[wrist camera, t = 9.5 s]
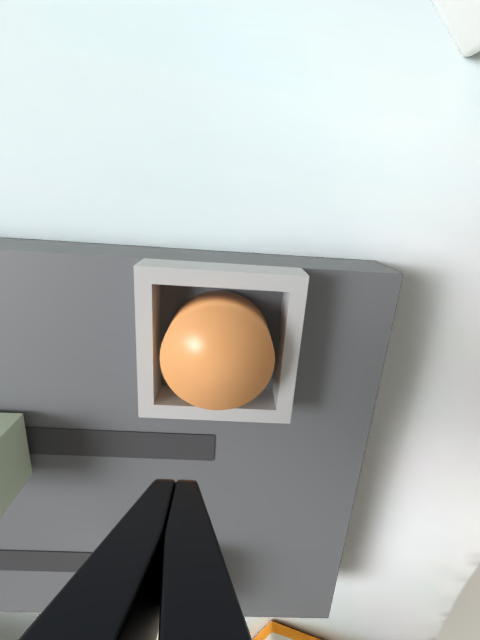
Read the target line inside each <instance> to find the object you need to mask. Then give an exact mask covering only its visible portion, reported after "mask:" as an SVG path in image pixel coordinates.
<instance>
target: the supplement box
mask: <svg viewBox="0 0 480 640" xmlns="http://www.w3.org/2000/svg"><path fill="white" fill-rule="evenodd" d="M253 640H320V639H318V638H315V637H313V636H310V635H307V634H305V633H302V632H299V631H297V630H294V629H291V628H289V627H287V626H284V625H281V624H279V623H276V622H273V621H270V622H269V623H268V625H266V626H265V627H264V629H263V630H261V631H260V633H258V635H257V636H256V637H255V638H254V639H253Z"/></svg>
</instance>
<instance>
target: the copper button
mask: <svg viewBox="0 0 480 640" xmlns="http://www.w3.org/2000/svg"><path fill="white" fill-rule="evenodd" d="M274 365H275V353H274V347H273V343H272V340H271V336H270V332H269V329H268V325H267V322H266V320H265V317H264V316H263V314H262V312H261V311H260V310H259V309H258V307H257V306H256V305H255V304H254V303H253V302H251V301H250V300H248V299H247V298H245V297H243V296H241V295H239V294H236V293H233V292H229V291H208V292H205V293H201V294H199V295H196V296H194V297H193V298H191V299H189V300H188V301H187V302H185V303H184V304H183V305H182V306H181V307H180V308H179V310H178V311H177V312H176V314H175V316H174V318H173V320H172V322H171V324H170V326H169V328H168V330H167V332H166V334H165V336H164V339H163V342H162V344H161V349H160V366H161V371H162V374H163V376H164V379H165V380H166V382H167V384H168V385H169V387H170V388H171V389H172V391H173V392H174V393H175V394H176V395H178V396H179V397H180V398H181V399H183V400H184V401H186V402H187V403H189V404H191V405H194V406H196V407H199V408H203V409H207V410H228V409H233V408H237V407H239V406H242V405H244V404H246V403H248V402H250V401H251V400H253V399H254V398H256V397H257V396H258V395H259V394H260V393H261V392H262V391H263V390H264V389H265V387H266V386H267V384H268V383H269V381H270V379H271V377H272V374H273V371H274Z"/></svg>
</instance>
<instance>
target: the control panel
mask: <svg viewBox="0 0 480 640" xmlns="http://www.w3.org/2000/svg"><path fill="white" fill-rule="evenodd" d="M402 278H403V274H402V273H400V272H398V271H396V270H393V269H391V268H389V267H387V266H385V265H383V264H380V263H378V262H376V261H371V260H355V259H339V258H323V257H307V256H291V255H275V254H259V253H243V252H227V251H211V250H195V249H178V248H162V247H146V246H130V245H114V244H98V243H82V242H66V241H50V240H34V239H18V238H2V237H0V413H23V416H24V423H25V429H26V436H27V442H28V448H29V455H30V461H31V467H32V475H31V476H30V478H29V479H28V481H27V482H26V483H25V485H24V486H23V488H22V489H21V490H20V492H19V493H18V494H17V496H16V497H15V499H14V500H13V501H12V503H11V504H10V506H9V507H8V508H7V510H6V511H5V513H4V514H3V515H2V517H1V518H0V611H2V612H43V610H44V609H45V608H46V607H47V606H48V604H49V603H50V602H51V601H52V600H53V599H54V597H55V596H56V595H57V594H58V593H59V592H60V590H61V589H62V588H63V587H64V586H65V584H66V583H67V582H68V581H69V580H70V579H71V577H72V576H73V575H74V574H75V573H76V572H77V570H78V569H79V568H80V567H81V566H82V565H83V563H84V562H85V561H86V560H87V559H88V557H89V556H90V555H91V554H92V553H93V552H94V550H95V549H96V548H97V547H98V546H99V545H100V543H101V542H102V541H103V540H104V539H105V538H106V536H107V535H108V534H109V533H110V532H111V530H112V529H113V528H114V527H115V526H116V525H117V523H118V522H119V521H120V520H121V519H122V518H123V516H124V515H125V514H126V513H127V512H128V510H129V509H130V508H131V507H132V506H133V505H134V503H135V502H136V501H137V500H138V499H139V498H140V496H141V495H142V494H143V493H144V492H145V490H146V489H147V488H148V487H149V486H150V485H151V483H152V482H153V481H154V480H156V479H174V480H175V481H176V482H177V480H179V479H185V480H196V481H197V483H198V485H199V488H200V491H201V494H202V496H203V499H204V502H205V505H206V508H207V511H208V514H209V517H210V520H211V523H212V525H213V528H214V531H215V534H216V537H217V540H218V543H219V546H220V549H221V551H222V554H223V557H224V560H225V563H226V566H227V569H228V572H229V575H230V577H231V580H232V583H233V586H234V589H235V592H236V595H237V598H238V601H239V604H240V606H241V609H242V612H243V615H244V616H245V617H293V618H328V617H329V613H330V608H331V603H332V599H333V594H334V590H335V585H336V581H337V576H338V571H339V567H340V562H341V558H342V553H343V548H344V544H345V539H346V535H347V530H348V526H349V521H350V516H351V512H352V507H353V503H354V498H355V494H356V489H357V484H358V480H359V475H360V471H361V466H362V461H363V457H364V452H365V448H366V443H367V439H368V434H369V429H370V425H371V420H372V416H373V411H374V407H375V402H376V397H377V393H378V388H379V384H380V379H381V374H382V370H383V365H384V361H385V356H386V352H387V347H388V342H389V338H390V333H391V329H392V324H393V320H394V315H395V310H396V306H397V301H398V297H399V292H400V287H401V283H402ZM208 291H229V292H233V293H236V294H239V295H241V296H243V297H245V298H247V299H248V300H250V301H251V302H253V303H254V304H255V305H256V306H257V307H258V309H259V310H260V311H261V312H262V314H263V316H264V317H265V320H266V322H267V325H268V329H269V332H270V336H271V340H272V343H273V347H274V353H275V365H274V371H273V374H272V377H271V379H270V381H269V383H268V384H267V386H266V387H265V389H264V390H263V391H262V392H261V393H260V394H259V395H258V396H257V397H256V398H254V399H253V400H251V401H250V402H248V403H246V404H244V405H242V406H239V407H237V408H233V409H228V410H207V409H203V408H199V407H196V406H194V405H191V404H189V403H187V402H186V401H184V400H183V399H181V398H180V397H179V396H178V395H176V394H175V393H174V392H173V391H172V389H171V388H170V387H169V385H168V384H167V382H166V380H165V379H164V376H163V374H162V371H161V366H160V349H161V344H162V342H163V339H164V336H165V334H166V332H167V330H168V328H169V326H170V324H171V322H172V320H173V318H174V316H175V314H176V312H177V311H178V310H179V308H180V307H181V306H182V305H183V304H184V303H185V302H187V301H188V300H189V299H191V298H193V297H194V296H196V295H199V294H201V293H205V292H208Z"/></svg>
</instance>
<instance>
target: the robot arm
mask: <svg viewBox="0 0 480 640" xmlns="http://www.w3.org/2000/svg"><path fill="white" fill-rule="evenodd" d="M158 630H159V632H158ZM157 635H158V640H252V638H251V635H250V632H249V630H248V627H247V624H246V621H245V618H244V615H243V612H242V609H241V606H240V604H239V601H238V598H237V595H236V592H235V589H234V586H233V583H232V580H231V577H230V575H229V572H228V569H227V566H226V563H225V560H224V557H223V554H222V551H221V549H220V546H219V543H218V540H217V537H216V534H215V531H214V528H213V525H212V523H211V520H210V517H209V514H208V511H207V508H206V505H205V502H204V499H203V496H202V494H201V491H200V488H199V485H198V483H197V481H196V480H185V479H179V480H177V482H176V481H175V480H174V479H156V480H154V481H153V482H152V483H151V485H150V486H149V487H148V488H147V489H146V490H145V492H144V493H143V494H142V495H141V496H140V498H139V499H138V500H137V501H136V502H135V503H134V505H133V506H132V507H131V508H130V509H129V510H128V512H127V513H126V514H125V515H124V516H123V518H122V519H121V520H120V521H119V522H118V523H117V525H116V526H115V527H114V528H113V529H112V530H111V532H110V533H109V534H108V535H107V536H106V538H105V539H104V540H103V541H102V542H101V543H100V545H99V546H98V547H97V548H96V549H95V550H94V552H93V553H92V554H91V555H90V556H89V557H88V559H87V560H86V561H85V562H84V563H83V565H82V566H81V567H80V568H79V569H78V570H77V572H76V573H75V574H74V575H73V576H72V577H71V579H70V580H69V581H68V582H67V583H66V584H65V586H64V587H63V588H62V589H61V590H60V592H59V593H58V594H57V595H56V596H55V597H54V599H53V600H52V601H51V602H50V603H49V604H48V606H47V607H46V608H45V609H44V610H43V612H42V613H41V614H40V615H39V616H38V617H37V619H36V620H35V621H34V622H33V623H32V624H31V626H30V627H29V628H28V629H27V630H26V631H25V633H24V634H23V635H22V636H21V637H20V639H19V640H156V639H157Z"/></svg>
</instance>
